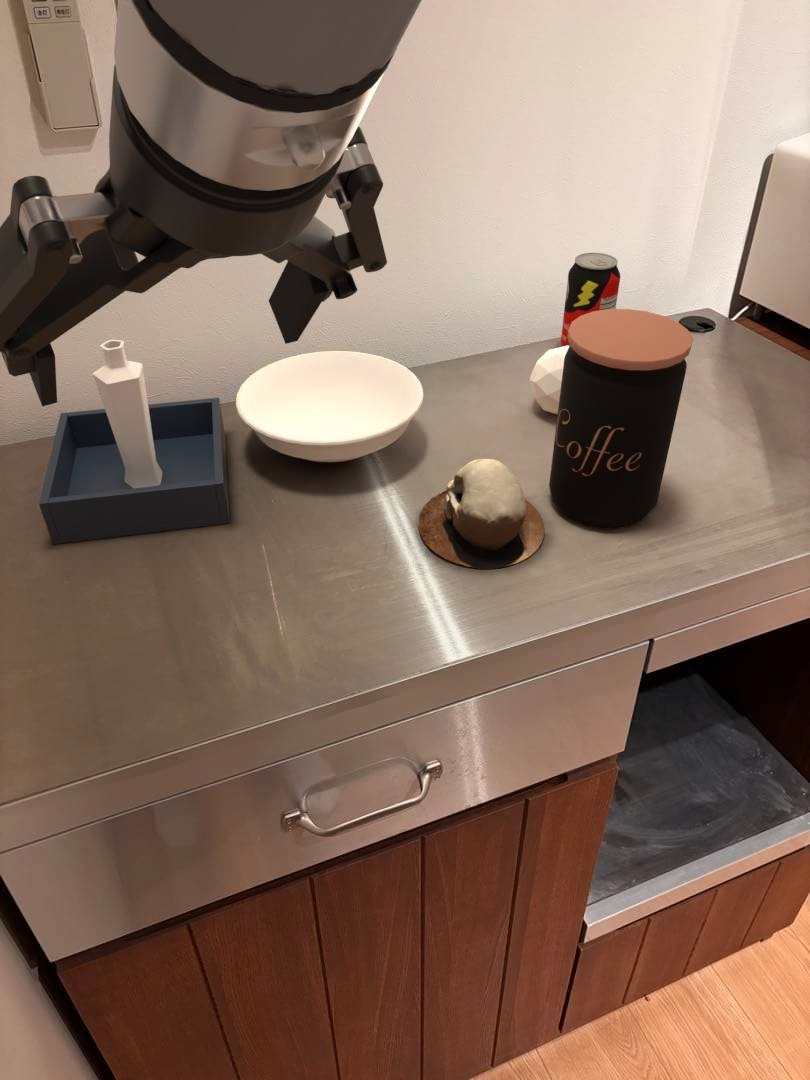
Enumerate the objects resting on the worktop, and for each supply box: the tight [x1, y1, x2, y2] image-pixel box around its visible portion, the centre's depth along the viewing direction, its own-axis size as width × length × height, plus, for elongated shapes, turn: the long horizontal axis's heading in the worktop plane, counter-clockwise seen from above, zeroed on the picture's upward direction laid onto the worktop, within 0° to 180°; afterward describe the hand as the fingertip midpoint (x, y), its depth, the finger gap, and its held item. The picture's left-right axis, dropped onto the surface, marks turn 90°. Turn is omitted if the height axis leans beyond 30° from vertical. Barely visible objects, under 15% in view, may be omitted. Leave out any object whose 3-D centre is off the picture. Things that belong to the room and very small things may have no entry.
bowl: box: [235, 350, 425, 463], centre depth 92 cm, size 20×20×6 cm
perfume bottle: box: [92, 339, 162, 488], centre depth 83 cm, size 5×4×15 cm
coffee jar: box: [548, 308, 693, 530], centre depth 80 cm, size 11×11×18 cm
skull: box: [417, 458, 546, 570], centre depth 81 cm, size 12×10×10 cm
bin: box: [38, 397, 231, 545], centre depth 87 cm, size 17×17×5 cm
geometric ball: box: [528, 346, 569, 416], centre depth 97 cm, size 8×8×8 cm
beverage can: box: [560, 252, 621, 347], centre depth 108 cm, size 6×6×12 cm
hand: (168, 349), depth 47 cm, fingers open, 13 cm apart
